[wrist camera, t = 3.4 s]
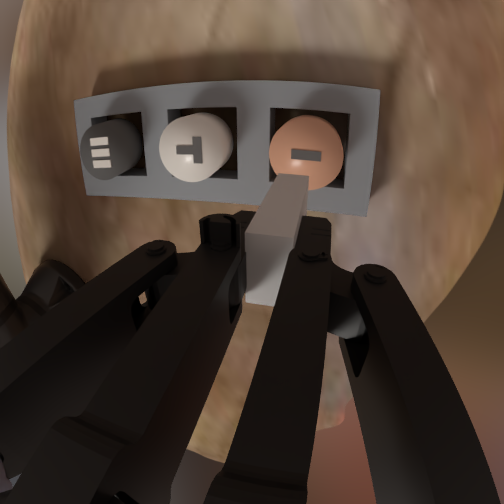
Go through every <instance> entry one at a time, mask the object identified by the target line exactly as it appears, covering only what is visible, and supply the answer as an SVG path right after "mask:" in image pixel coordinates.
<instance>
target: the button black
mask: <svg viewBox="0 0 504 504" xmlns="http://www.w3.org/2000/svg"><path fill="white" fill-rule="evenodd" d="M142 148H143V146H142V138H141V135H140V133H139V131H138V129H137V128H136V126H135V125H134V124H133V123H131V122H130V121H128V120H126V119H122V118H117V119H113V120H109V121H106V122H102V123H99V124H96V125H93V126H91V127H90V128H88V129H87V130H86V131H85V133H84V135H83V137H82V139H81V143H80V155H81V159H82V162H83V165H84V166H85V168H86V170H87V171H88V172H89V173H90V174H91V175H92V176H93V177H95V178H97V179H99V180H110V179H112V178H114V177H116V176H118V175H120V174H121V173H123V172H125V171H127V170H129V169H131V168H132V167H134V166H135V165H136V164H137V163H138V161H139V159H140V157H141V154H142Z"/></svg>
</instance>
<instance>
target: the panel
mask: <svg viewBox="0 0 504 504" xmlns="http://www.w3.org/2000/svg"><path fill="white" fill-rule="evenodd" d="M379 104H380V90H378V89H371V88H364V87H356V86H348V85H338V84H328V83H315V82H299V81H273V80H235V81H209V82H194V83H181V84H171V85H161V86H153V87H145V88H138V89H131V90H124V91H118V92H113V93H107V94H102V95H97V96H92V97H87V98H82V99H78V100H74V109H75V119H76V128H77V137H78V145H79V152H80V143H81V139H82V137H83V135H84V133H85V131H86V130H87V129H88V128H90V127H91V126H93V125H96V124H99V123H102V122H106V121H107V116H108V115H116V114H124V113H133V112H141V114H142V127H143V139H144V150H145V160H146V168H131V169H129V170H127V171H125V172H123V173H121V174H120V175H118V176H116V177H114V178H112V179H110V180H99V179H97V178H95V177H93V176H92V175H91V174H90V173H89V172H88V171H87V170H86V168H85V166H84V165H83V162H82V159H81V155H80V159H81V165H82V172H83V177H84V183H85V189H86V194H87V195H91V196H121V197H144V198H163V199H180V200H196V201H211V202H224V203H237V204H249V205H261V203H262V201H263V199H264V198H265V196H266V194H267V192H268V191H269V189H270V187H271V185H272V184H273V182H274V180H275V179H276V177H277V175H276V173H274V170H273V168H272V166H271V163H270V158H269V148H270V143H271V141H272V138H273V136H274V135H275V108H291V109H307V110H319V111H330V112H340V113H348V124H347V138H346V150H345V162H344V172H343V180H342V179H334V180H333V181H332V182H331V183H329V184H328V185H326V186H324V187H322V188H319V189H315V190H308V200H307V210H312V211H321V212H330V213H338V214H347V215H355V216H363V217H367V211H368V205H369V198H370V191H371V184H372V176H373V168H374V159H375V150H376V141H377V130H378V118H379ZM204 107H237V160H238V171H236V170H217V171H216V172H215V173H213V174H212V175H211V176H210V177H208V178H207V179H205V180H202V181H199V182H186V181H183V180H180V179H178V178H176V177H175V176H173V175H172V174H171V173H170V172H169V171H168V170H167V169H166V167H165V166H164V164H163V162H162V160H161V157H160V152H159V142H160V138H161V135H162V133H163V131H164V129H165V128H166V127H167V126H168V125H169V124H170V123H171V122H172V121H174V120H176V119H178V118H181V111H180V109H182V108H204Z"/></svg>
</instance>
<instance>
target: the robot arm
mask: <svg viewBox="0 0 504 504" xmlns="http://www.w3.org/2000/svg"><path fill="white" fill-rule="evenodd" d="M308 186H309V176H305V175H294V174H283V173H278V175H277V177H276V179H275V180H274V182H273V184H272V185H271V187H270V189H269V191H268V192H267V194H266V196H265V198H264V199H263V201H262V203H261V205H260V206H259V208H258V210H257V212H253V211H242V210H241V211H239V212H237V213H236V214H234V215H230V214H212V215H208V216H205V217H203V218H202V219H200V220H199V224H200V236H201V244H200V246H199V247H198V248H197V250H196V251H195V252H189V253H177V251H176V246H175V245H174V243H172V242H170V241H164V240H154V241H152V242H148V243H146V244H144V245H142V246H140V247H139V248H137V249H136V250H134V251H133V252H131V253H130V254H128V255H127V256H125V257H124V258H122V259H121V260H119V261H118V262H117V263H115V264H114V265H112V266H111V267H109V268H108V269H106V270H105V271H103V272H102V273H101V274H99V275H98V276H96V277H95V278H93V279H92V280H91V281H89V282H88V283H86V284H84V282H83V281H82V280H81V279H80V278H79V276H78V275H77V274H76V273H75V272H73V271H72V270H71V269H70V268H68V267H67V266H66V265H64V264H62V263H60V262H58V261H55V260H46V261H44V262H43V263H42V264H40V265H39V266H38V267H37V268H36V269H35V270H34V272H33V274H32V276H31V278H30V279H29V281H28V283H27V285H26V287H25V288H24V290H23V292H22V294H21V295H20V296H19V297H18V298H17V299H16V300H15V298H14V297H13V295H12V293H11V291H10V290H9V288H8V286H7V284H6V283H5V281H4V279H3V277H2V276H1V274H0V504H169V503H170V499H171V485H172V482H173V479H174V477H175V474H176V472H177V470H178V467H179V465H180V463H181V460H182V458H183V455H184V453H185V451H186V448H187V446H188V443H189V441H190V439H191V436H192V434H193V431H194V429H195V426H196V424H197V422H198V419H199V417H200V414H201V412H202V409H203V407H204V404H205V402H206V400H207V397H208V395H209V392H210V390H211V387H212V385H213V382H214V380H215V377H216V375H217V372H218V370H219V368H220V365H221V363H222V360H223V358H224V355H225V353H226V350H227V348H228V345H229V343H230V340H231V338H232V335H233V333H234V330H235V328H236V325H237V323H238V320H239V318H240V315H241V313H242V298H243V296H244V293H245V291H246V302H247V303H254V304H261V305H268V306H274V309H273V312H272V316H271V319H270V322H269V326H268V329H267V333H266V336H265V339H264V343H263V346H262V349H261V353H260V356H259V359H258V363H257V366H256V369H255V372H254V376H253V379H252V382H251V385H250V388H249V392H248V395H247V398H246V401H245V404H244V407H243V410H242V414H241V417H240V420H239V423H238V426H237V429H236V432H235V435H234V438H233V441H232V444H231V447H230V450H229V453H228V456H227V459H226V462H225V464H224V467H223V468H222V470H221V471H220V472H219V473H218V474H217V475H216V476H215V478H214V480H213V481H212V483H211V486H210V488H209V490H208V493H207V495H206V498H205V501H204V503H203V504H306V502H307V493H308V492H307V479H308V474H309V468H310V462H311V456H312V450H313V444H314V438H315V431H316V425H317V418H318V410H319V403H320V395H321V387H322V378H323V369H324V360H325V349H326V339H327V332H329V333H332V334H335V335H337V336H339V344H340V348H341V351H342V355H343V359H344V363H345V366H346V370H347V374H348V378H349V382H350V386H351V389H352V393H353V397H354V401H355V406H356V410H357V413H358V418H359V422H360V427H361V431H362V435H363V439H364V444H365V449H366V453H367V458H368V462H369V467H370V472H371V476H372V482H373V487H374V492H375V497H376V503H377V504H501V503H500V500H499V497H498V493H497V490H496V487H495V484H494V481H493V478H492V475H491V472H490V469H489V466H488V464H487V460H486V458H485V455H484V452H483V450H482V447H481V444H480V442H479V439H478V437H477V434H476V432H475V429H474V427H473V424H472V422H471V420H470V417H469V415H468V413H467V410H466V408H465V406H464V404H463V401H462V399H461V397H460V395H459V393H458V390H457V388H456V386H455V384H454V382H453V380H452V378H451V376H450V374H449V372H448V370H447V367H446V365H445V364H444V361H443V360H442V357H441V356H440V354H439V352H438V350H437V348H436V346H435V344H434V342H433V340H432V338H431V336H430V335H429V333H428V331H427V329H426V327H425V325H424V324H423V322H422V320H421V318H420V316H419V315H418V313H417V311H416V309H415V308H414V306H413V304H412V302H411V301H410V299H409V297H408V296H407V294H406V292H405V290H404V289H403V287H402V285H401V284H400V282H399V281H398V279H397V277H396V276H395V275H394V273H393V272H392V271H390V270H389V269H387V268H385V267H383V266H381V265H377V264H364V265H360V266H358V267H356V269H355V270H354V272H353V273H352V272H349V271H346V270H344V269H342V268H340V267H338V266H337V265H335V264H334V263H333V261H332V258H331V255H330V252H331V223H330V222H329V221H328V219H327V218H320V217H311V216H306V213H307V200H308ZM144 291H145V294H146V298H147V301H146V302H145V303H143V304H140V301H139V297H138V296H139V295H141V294H142V293H143V292H144ZM21 473H22V474H21ZM19 474H21V475H20V477H19V479H18V480H17V482H16V484H15V485H14V487H13V486H12V483H11V482H10V480H9V479H11V478H13V477H15V476H17V475H19Z"/></svg>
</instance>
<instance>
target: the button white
mask: <svg viewBox="0 0 504 504" xmlns="http://www.w3.org/2000/svg"><path fill="white" fill-rule="evenodd" d="M233 144H234V142H233V135H232V132H231V130H230V128H229V126H228V125H227V123H226V122H225V121H224V120H223V119H221V118H220V117H218V116H217V115H215V114H212V113H207V112H199V113H195V114H191V115H188V116H184V117H181V118H178V119H176V120H174V121H172V122H171V123H170V124H169V125H168V126H167V127H166V128H165V129H164V131H163V133H162V135H161V138H160V142H159V152H160V157H161V160H162V162H163V164H164V166H165V167H166V169H167V170H168V171H169V172H170V173H171V174H172V175H173V176H175V177H176V178H178V179H180V180H183V181H186V182H199V181H202V180H205V179H207V178H208V177H210V176H211V175H212V174H213V173H215V172H216V171H217V170H218V169H219V168H221V167H222V166H223V165H224V164H225V163H226V162H227V161H228V160H229V158H230V156H231V154H232V151H233Z"/></svg>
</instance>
